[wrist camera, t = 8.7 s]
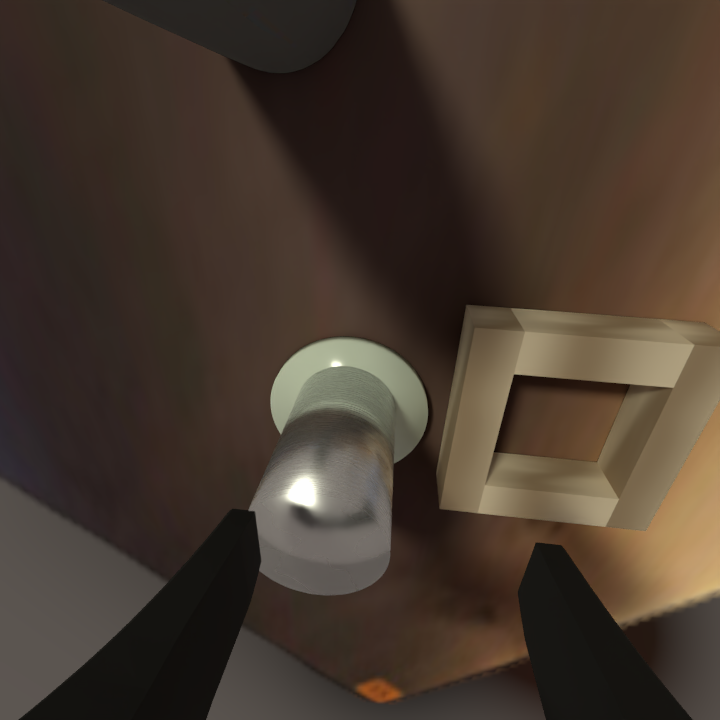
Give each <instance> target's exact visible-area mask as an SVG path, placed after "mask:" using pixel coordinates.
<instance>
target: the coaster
mask: <svg viewBox="0 0 720 720" xmlns="http://www.w3.org/2000/svg"><path fill="white" fill-rule="evenodd" d="M335 366H350V367H356V368H359V369H362V370H365V371H367V372H369V373H371V374H373V375H375V376H376V377H378V378H379V379H380V380H381V381H382V382H383V383H384V384H385V385H386V386H387V387H388V389H389V390H390V392H391V393H392V396H393V398H394V401H395V405H396V421H395V446H394V463H396V462H398V461H400V460H401V459H403V458H404V457H405V456H407V455H408V454H409V453H410V452H411V451H412V450H413V449H414V448H415V447H416V445H417V444H418V443H419V441H420V440H421V438H422V436H423V434H424V431H425V429H426V425H427V420H428V405H427V395H426V392H425V388H424V385H423V383H422V381H421V379H420V377H419V375H418V374H417V372H416V370H415V369H414V368H413V367H412V366H411V364H410V363H409V362H408V361H407V360H406V359H404V358H403V357H402V356H401V355H400V354H398V353H397V352H395V351H394V350H392V349H390V348H389V347H387V346H385V345H383V344H380V343H378V342H375V341H372V340H368V339H364V338H359V337H348V336H340V337H330V338H326V339H321V340H318V341H315V342H313V343H310V344H308V345H306V346H304V347H303V348H301V349H300V350H298V351H297V352H295V353H294V354H293V355H292V356H291V357H290V358H289V359H288V360H287V361H286V363H285V364H284V365H283V367H282V368H281V370H280V372H279V374H278V376H277V378H276V379H275V382H274V385H273V388H272V392H271V411H272V416H273V419H274V422H275V424H276V427H277V429H278V431H279V432H280V434H282V431H283V429H284V427H285V424H286V422H287V420H288V417H289V415H290V413H291V410H292V408H293V406H294V403H295V401H296V399H297V396H298V394H299V392H300V389H301V388H302V386H303V384H304V383H305V382H306V381H307V379H309V378H310V377H311V376H312V375H314V374H315V373H317V372H319V371H321V370H323V369H326V368H330V367H335Z"/></svg>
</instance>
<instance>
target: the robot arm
mask: <svg viewBox="0 0 720 720" xmlns="http://www.w3.org/2000/svg"><path fill="white" fill-rule="evenodd" d="M260 565H261V554H260V546H259V538H258V530H257V522H256V515H255V511H248V510H239V509H232V510H230V511H229V512H228V513H227V515H226V516H225V517H224V518H223V520H222V521H221V522H220V523H219V524H218V526H217V527H216V528H215V529H214V530H213V532H212V533H211V534H210V535H209V536H208V538H207V539H206V540H205V541H204V542H203V544H202V545H201V546H200V547H199V548H198V549H197V551H196V552H195V553H194V554H193V555H192V556H191V557H190V559H189V560H188V561H187V562H186V563H185V564H184V565H183V566H182V567H181V569H180V570H179V571H178V572H177V573H176V574H175V575H174V576H173V577H172V579H171V580H170V581H169V582H168V583H167V584H166V585H165V586H164V587H163V588H162V590H160V591H159V593H158V594H157V595H156V596H155V597H154V598H153V599H152V600H151V601H150V602H149V603H148V604H147V605H146V606H145V607H144V608H143V609H142V610H141V611H140V612H139V613H138V614H137V615H136V616H135V617H134V618H133V619H132V620H131V621H130V622H129V623H128V624H127V625H126V626H125V627H124V628H123V629H122V630H121V631H120V632H119V633H118V634H117V635H116V636H115V637H113V639H111V640H110V641H109V642H108V643H107V644H106V645H105V646H104V647H103V648H102V649H101V650H100V651H99V652H97V653H96V654H95V655H94V656H93V657H92V658H91V659H90V660H88V662H86V663H85V664H84V665H83V666H82V667H81V668H80V669H78V670H77V671H76V672H75V673H74V674H73V675H71V676H70V677H69V678H68V679H67V680H66V681H65V682H63V683H62V684H61V685H60V686H59V687H57V688H56V689H55V690H54V691H53V692H52V693H51V694H49V695H48V696H47V697H46V698H45V699H43V700H42V701H41V702H40V703H38V705H36V706H35V707H34V708H33V709H31V710H30V711H29V712H28V713H26V714H25V715H24V716H23V717H21V718H20V719H19V720H206V718H207V715H208V712H209V710H210V707H211V704H212V701H213V698H214V696H215V693H216V690H217V688H218V685H219V683H220V680H221V678H222V675H223V673H224V670H225V667H226V665H227V662H228V660H229V657H230V654H231V652H232V649H233V647H234V644H235V641H236V639H237V636H238V634H239V631H240V628H241V626H242V623H243V620H244V618H245V615H246V613H247V610H248V607H249V605H250V602H251V598H252V594H253V591H254V587H255V584H256V580H257V576H258V572H259V569H260ZM518 597H519V604H520V611H521V618H522V624H523V630H524V636H525V641H526V645H527V649H528V653H529V656H530V660H531V664H532V668H533V672H534V675H535V679H536V683H537V687H538V691H539V694H540V698H541V702H542V706H543V710H544V714H545V717H546V720H692V719H691V717H690V716H689V715H688V714H687V712H686V711H685V710H684V709H683V708H682V707H681V705H680V704H679V703H678V702H677V701H676V699H675V698H674V697H673V695H672V694H671V693H670V692H669V690H668V689H667V688H666V687H665V686H664V685H663V683H662V682H661V681H660V679H659V678H658V677H657V676H656V674H655V673H654V672H653V671H652V669H651V668H650V667H649V665H648V664H647V663H646V662H645V660H644V659H643V658H642V656H641V655H640V654H639V653H638V651H637V650H636V648H635V647H634V646H633V645H632V643H631V642H630V641H629V639H628V638H627V637H626V635H625V634H624V632H623V631H622V630H621V628H620V627H619V626H618V624H617V623H616V622H615V620H614V619H613V618H612V616H611V615H610V614H609V612H608V611H607V609H606V608H605V607H604V605H603V604H602V602H601V601H600V600H599V598H598V597H597V595H596V594H595V593H594V591H593V590H592V588H591V587H590V585H589V584H588V583H587V581H586V580H585V578H584V577H583V575H582V574H581V572H580V571H579V570H578V568H577V567H576V565H575V564H574V562H573V561H572V559H571V558H570V556H569V555H568V554H567V552H566V551H565V549H564V548H563V547H562V546H561V545H554V544H545V543H536V544H535V547H534V549H533V552H532V555H531V558H530V560H529V563H528V566H527V568H526V571H525V574H524V577H523V579H522V582H521V585H520V587H519V590H518Z"/></svg>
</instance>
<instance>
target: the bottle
mask: <svg viewBox="0 0 720 720" xmlns="http://www.w3.org/2000/svg"><path fill="white" fill-rule="evenodd" d="M103 1H105V2H107V3H109V4H111V5H114V6H116V7H118V8H120V9H122V10H124V11H126V12H129V13H131V14H133V15H135V16H137V17H139V18H141V19H143V20H146V21H148V22H150V23H152V24H154V25H157V26H159V27H161V28H163V29H166V30H168V31H170V32H172V33H174V34H177V35H179V36H181V37H183V38H185V39H188V40H190V41H192V42H194V43H196V44H199V45H201V46H203V47H205V48H207V49H210V50H212V51H214V52H216V53H218V54H221V55H223V56H225V57H227V58H230V59H232V60H235V61H237V62H239V63H242V64H244V65H247V66H249V67H251V68H254V69H257V70H260V71H265V72H269V73H289V72H294V71H298V70H301V69H304V68H306V67H308V66H310V65H312V64H313V63H315V62H317V61H318V60H320V59H321V58H322V57H323V56H325V55H326V54H327V53H328V52H329V51H330V50H331V49H332V47H333V46H334V45H335V43H336V42H337V41H338V39H339V38H340V36H341V35H342V34H343V32H344V31H345V29H346V27H347V25H348V22H349V20H350V18H351V15H352V13H353V10H354V7H355V4H356V0H103Z"/></svg>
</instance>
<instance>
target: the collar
mask: <svg viewBox="0 0 720 720" xmlns="http://www.w3.org/2000/svg"><path fill="white" fill-rule="evenodd" d="M514 374H517V375H529V376H541V377H552V378H564V379H576V380H587V381H599V382H611V383H623V384H630V386H629V389H628V391H627V393H626V396H625V398H624V400H623V403H622V405H621V407H620V410H619V412H618V414H617V417H616V419H615V421H614V424H613V426H612V428H611V431H610V433H609V435H608V438H607V440H606V442H605V445H604V447H603V449H602V452H601V454H600V456H599V459H598V461H597V462H589V461H579V460H569V459H558V458H548V457H538V456H528V455H518V454H507V453H497V452H494V448H495V445H496V441H497V437H498V433H499V429H500V425H501V422H502V418H503V414H504V410H505V406H506V402H507V399H508V395H509V391H510V387H511V383H512V379H513V376H514ZM719 400H720V331H718V330H716V329H715V328H713V327H711V326H710V325H708V324H707V323H705V322H691V321H678V320H665V319H651V318H638V317H624V316H611V315H598V314H584V313H571V312H557V311H544V310H531V309H517V308H504V307H491V306H477V305H466V310H465V315H464V321H463V326H462V332H461V337H460V343H459V349H458V354H457V360H456V365H455V371H454V377H453V382H452V388H451V393H450V399H449V405H448V410H447V416H446V421H445V427H444V433H443V438H442V444H441V449H440V455H439V461H438V466H437V472H436V476H437V487H438V498H439V509H445V510H454V511H464V512H473V513H482V514H491V515H501V516H510V517H519V518H528V519H538V520H547V521H556V522H565V523H575V524H584V525H593V526H602V527H612V528H621V529H630V530H639V531H646V530H647V528H648V526H649V524H650V523H651V521H652V519H653V517H654V516H655V514H656V512H657V510H658V509H659V507H660V505H661V503H662V501H663V500H664V498H665V496H666V494H667V493H668V491H669V489H670V487H671V485H672V484H673V482H674V480H675V478H676V477H677V475H678V473H679V471H680V470H681V468H682V466H683V464H684V462H685V461H686V459H687V457H688V455H689V454H690V452H691V450H692V448H693V446H694V445H695V443H696V441H697V439H698V438H699V436H700V434H701V432H702V431H703V429H704V427H705V425H706V423H707V422H708V420H709V418H710V416H711V415H712V413H713V411H714V409H715V407H716V406H717V404H718V402H719Z"/></svg>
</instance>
